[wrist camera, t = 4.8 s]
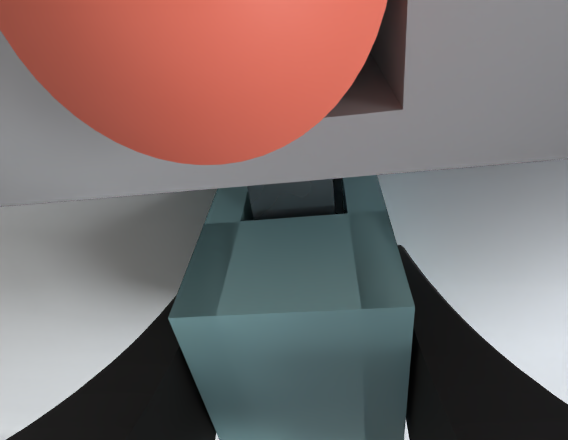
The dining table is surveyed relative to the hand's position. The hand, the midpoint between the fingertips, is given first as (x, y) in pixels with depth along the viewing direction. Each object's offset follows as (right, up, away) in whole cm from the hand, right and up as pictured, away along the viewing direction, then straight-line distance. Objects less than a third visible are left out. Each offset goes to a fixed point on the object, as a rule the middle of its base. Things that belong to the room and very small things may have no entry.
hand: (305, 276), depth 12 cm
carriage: (0, +1, +2) cm, 2 cm away
